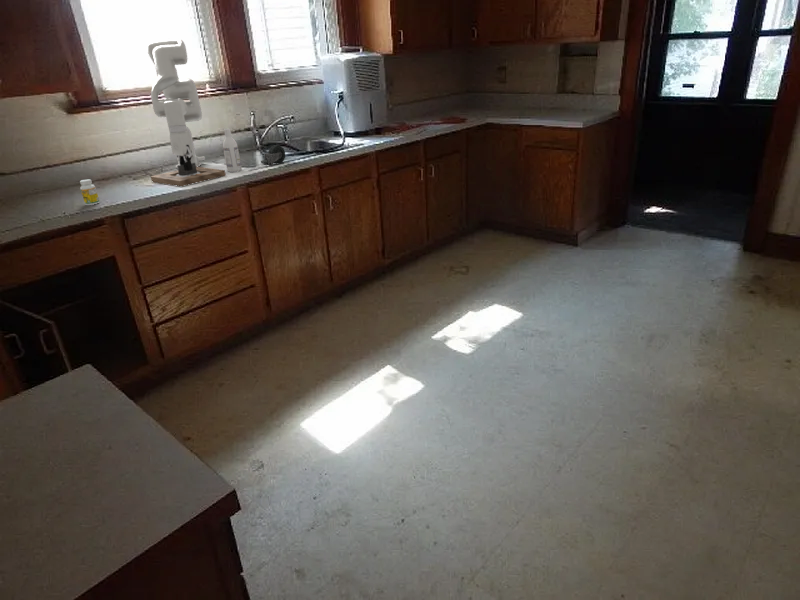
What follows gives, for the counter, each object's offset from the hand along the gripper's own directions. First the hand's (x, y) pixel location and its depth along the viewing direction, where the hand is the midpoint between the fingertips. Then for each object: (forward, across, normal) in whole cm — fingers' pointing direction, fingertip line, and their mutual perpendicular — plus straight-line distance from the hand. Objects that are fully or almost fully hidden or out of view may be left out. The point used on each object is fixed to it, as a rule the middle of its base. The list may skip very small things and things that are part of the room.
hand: (187, 169), depth 249 cm
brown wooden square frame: (+4, 0, 0) cm, 4 cm away
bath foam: (+4, +7, +21) cm, 23 cm away
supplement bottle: (+4, +5, -47) cm, 47 cm away
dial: (+4, 0, 0) cm, 4 cm away
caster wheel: (+5, +13, +40) cm, 43 cm away
